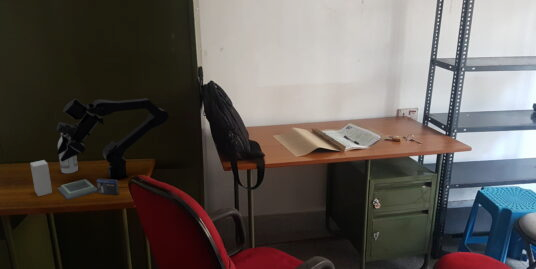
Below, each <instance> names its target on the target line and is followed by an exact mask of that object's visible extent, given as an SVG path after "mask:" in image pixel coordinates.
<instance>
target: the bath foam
mask: <svg viewBox="0 0 536 269" xmlns="http://www.w3.org/2000/svg"><path fill="white" fill-rule="evenodd" d="M61 135H63V134H62V133H60V137H59V140H58V142H57V150H58V149H59V147H60V145H61V142H62V136H61ZM65 151H66V150H65ZM65 151H64V152H62V153H61V154H58V159H59V165H60V166H59V167H60V172H61V174H62V173H63V174H67V175H68V174H73V173H76V172H77V171H78V170H79V166H78V165H79V164H78V158H77V155H75V156H73V157H71V158H69V159H67V160H65V161H63V162H62V161H61V160H60V159H61V158H62V156H63V154H64V153H65Z"/></svg>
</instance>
